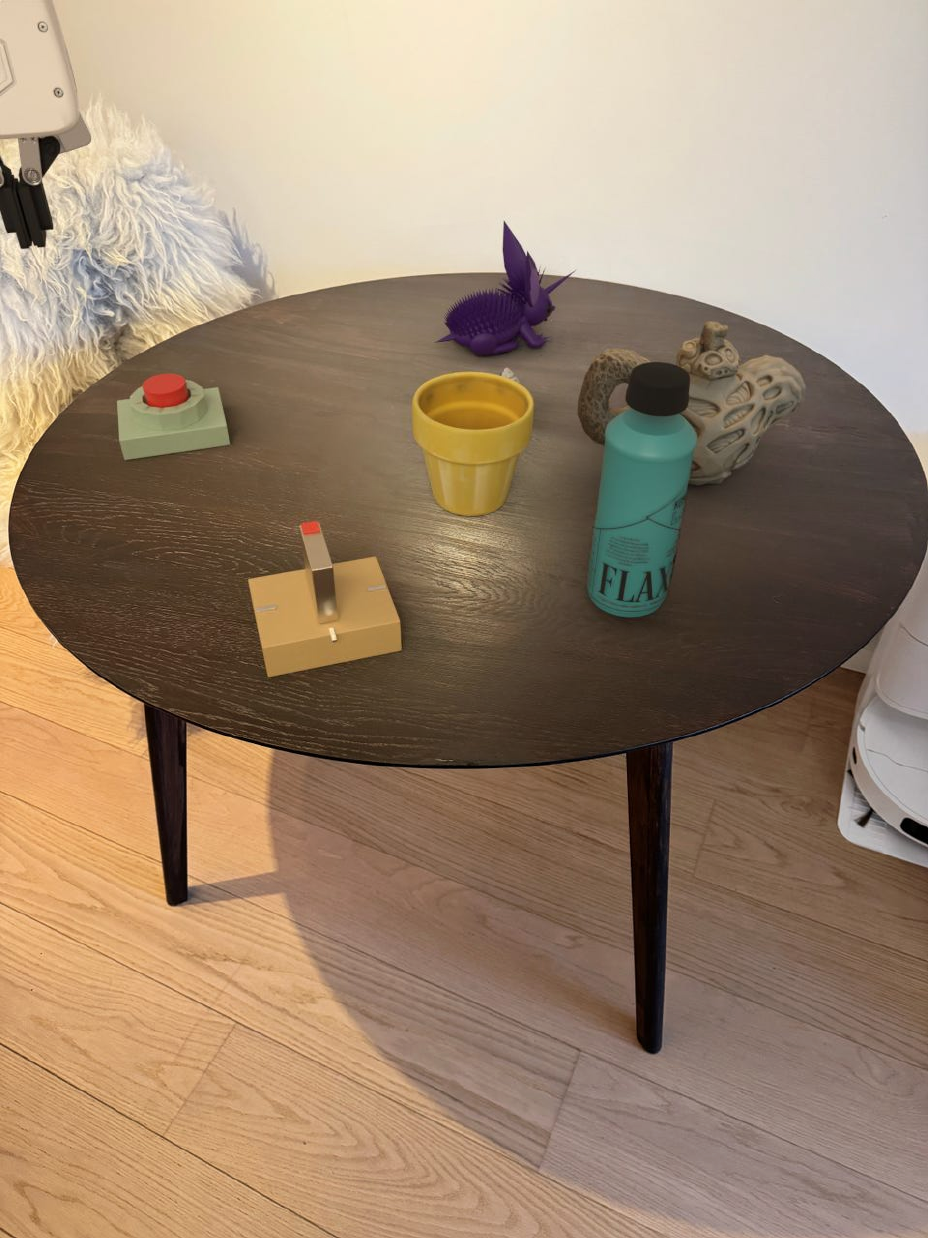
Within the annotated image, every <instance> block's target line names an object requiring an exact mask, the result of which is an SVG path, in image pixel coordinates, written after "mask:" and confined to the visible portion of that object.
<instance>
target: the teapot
mask: <svg viewBox="0 0 928 1238" xmlns="http://www.w3.org/2000/svg"><path fill="white" fill-rule="evenodd" d="M729 332H730V331H729V326H728V325H726V324H721V323H720V322H718V321H705V322H704V325H703V328H702V330H701V334H700V336H699V337H695V338H693V339H689V340H685V341H683V342H682V345H681V346H680V348H679V349H678V350H677V353H676V358H675V365H677V366H679V367H681V368H683V369H685V370H686V371H687V372H688V374H689V376H690V389H689V403H688V407H687V408H686V410H684V411H683V412H681V413H679V414H681V415H682V416H683V417H684V418H685V419H686V420H687V421H688V422H689V423H690V424H691V426H692V427H693V428H694V430H695V432H696V434H697V445H696V448H695V449H694V454H693V459H692V464H691V471H690V473H693V474H692V475H691V474H690V477H691V478H690V477H689V479H690V480H689V482H690V483H688V486H689V485H690V486H693V485H694V486H697V487H698V486H703V485H707V484H710V485H711V484H715V485H717V484H722V483H723V482H724V480H726V479H727V478H728V477H729V476H731V475H732V472H733V471H736V470H738V469H741V468H742V467H744V466H746V464H747V463H748V462H749V461H750V459H752V458H753V457H754V454H755V452H756V449H757V447H758V444H759V443H760V441H761V438H762V437H763V435H764V434H765V432H766V431H768V430H769V429H770V428H771V427H773V426H775V425H777V424H779V423H781V422H783V421H785V420H786V419H788V418H789V417H790V416H791V415H792V414H793V412H794V411H795V410H796V409H797V408H798V407H801V406H802V405H804V404H805V397H806V391H807V390H806V389H807V385H806V384H805V382H804V379H803V376H802V374H801V373H800V372H799V371H798V370H797V368H795V367H794V366H793V365H791V364H790V363H789V362H787V360H785V359H783V358H782V357H778V356H773V355H772V356H771V355H769V354H764V355H762V356H760V357H759V356H758V357H755V358H750V359H749V360H747V361H745V362H744V363H741V358H740V356H739V352H738V350H737V349H736V348H735V347H734V345H733V344H732V343H731V342H730V341H729V340H727V339H725V338H726V337H727V335H728V333H729ZM648 362H652V361H650V359H648V358H646V357H644V356H641V355H640V354H638V353H637V352H636V351H634V350H633V349H622V348H607V349H606V350H605V351H603V352H602V353H599V355H597V356H596V357H595V358H594V359H593V360H592V362H591V363H590V366H589V367H588V369H587V371H586V372H585V374H584V377H583V381H582V384H581V388H580V391H579V396H578V399H577V400H578V401H577V411H576V412H577V413H576V414H577V417H578V420H579V423H580V425H581V428H582V430H583V432H584V433H585V435H586V436H587V437H589V439H590V440H591V441H592V442H593V443H594V444H598V445H599V446H604V447H605V439H606V438H605V431H606V427H607V425H608V423H609V422H610V421H611V420H612V419H613V418H615V417H616V416H618V415H619V414H621V413H622V412H624V411H626V410H628V409H630V408H631V407H630V406H629V405H628V404H627V403H626V405H625V406H624V407H620V408H617V407H616V408H611V407H610V398H611V396H612V393H613V392H614V390H615V389H616V387H617V386H620V385H622V384H627V385H629V380H630V375H631V372H632V370H633V369H634V368H635V367H636V366H638V365H640V364H643V363H648Z"/></svg>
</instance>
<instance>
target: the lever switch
mask: <svg viewBox="0 0 928 1238" xmlns="http://www.w3.org/2000/svg"><path fill="white" fill-rule="evenodd" d="M332 565H333V570H334V579H335V588H336V597H337V606H338V615H339V620H337V621H332V622H326V623H321V624H319V623H318V619H317V616H316V612H315V608H314V605H313V601H312V597H311V594H310V590H309V586H308V583H307V579H306V573H305V568H303V569H296V570H292V571H286V572H285V571H284V572H279V573H275V574H269V575H264V576H258V577H252V578H248V580H247V582H248V587H249V592H250V597H251V603H252V608H253V613H254V618H255V622H256V627H257V633H258V636H259V641H260V642H259V643H260V647H261V652H262V656H263V661H264V666H265V670H266V676H267V677H268V678H273V677H278V676H284V675H287V674H293V673H297V672H303V671H308V670H313V669H317V668H322V667H327V666H332V665H337V664H341V663H347V662H351V661H356V660H362V659H366V658H371V657H377V656H381V655H386V654H387V655H388V654H391V653H396V652H400V651H402V650H403V644H402V643H403V642H402V627H401V626H402V625H401V619H400V617H399V614H398V611H397V608H396V605H395V603H394V600H393V598H392V595H391V592H390V590H389V587H388V584H387V582H386V579H385V577H384V574H383V571H382V569H381V568H382V567H381V565H380V564H379V560H378V558H377V556H370V557H364V558H358V559H353V560H348V561H341V562H337V563H336V562H335V563H332Z"/></svg>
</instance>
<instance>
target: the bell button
mask: <svg viewBox="0 0 928 1238" xmlns="http://www.w3.org/2000/svg"><path fill="white" fill-rule="evenodd" d="M185 380H186V378H185V377H184V376H182V375H180V374H176V373H161V374H156V375H154V376H150V377H149V378H146V380H145V381H144V382H143V383H142V386H143V390H144V394H145V398H146V402H147V404H148V406H150V407H158V408H166V407H174V406H177V405H180V404H182V403H184V402H186V401H187V400H188V399H189V395H188V390H187V385H186V381H185Z"/></svg>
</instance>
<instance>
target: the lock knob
mask: <svg viewBox="0 0 928 1238" xmlns="http://www.w3.org/2000/svg"><path fill="white" fill-rule="evenodd" d="M298 528H299V537H300V544H301V551H302V557H303V565H304V569H305V573H306V579H307V583H308V586H309V590H310V594H311V597H312V601H313V605H314V608H315V612H316V616H317V619H318V623H319V624H321V623H326V622H332V621H337V620H339V615H338V606H337V597H336V588H335V579H334V570H333V565H332V564H333V562H332V559H331V555H330V552H329V549H328V546H327V543H326V539H325V536H324V533H323V530H322V527H321V524H320V522H319V521H318V520H314V521H307V522H301V523H300V525H299V526H298Z"/></svg>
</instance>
